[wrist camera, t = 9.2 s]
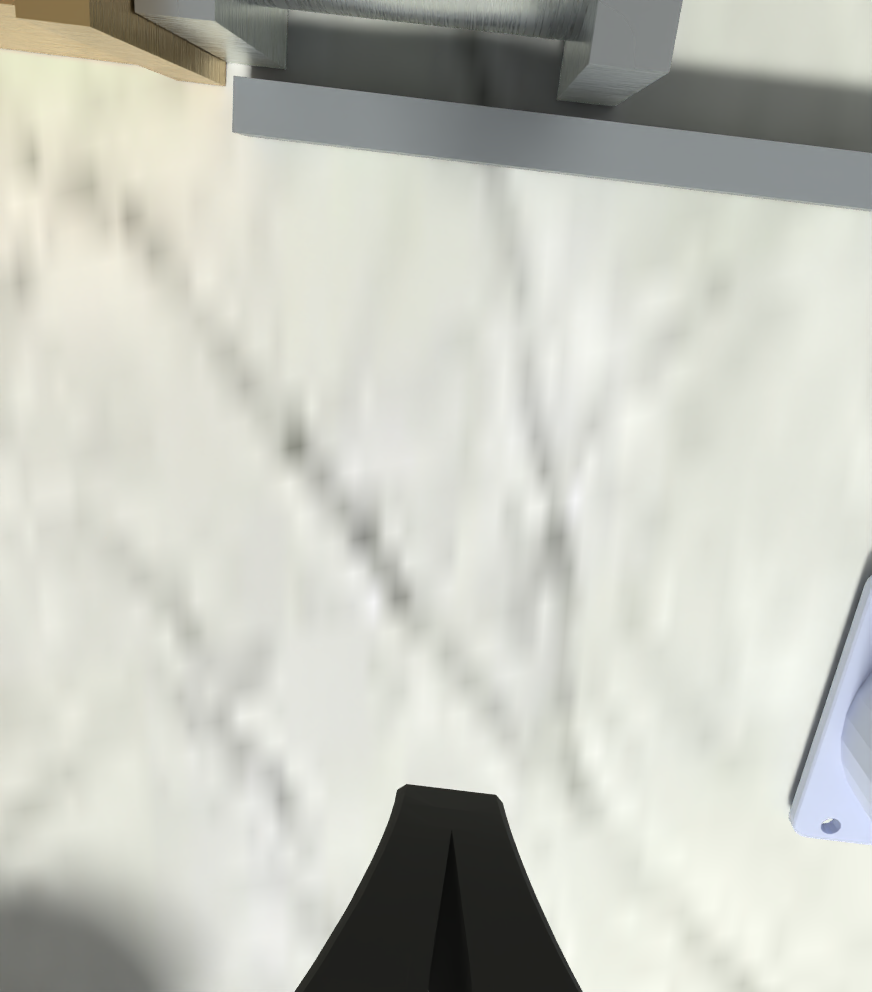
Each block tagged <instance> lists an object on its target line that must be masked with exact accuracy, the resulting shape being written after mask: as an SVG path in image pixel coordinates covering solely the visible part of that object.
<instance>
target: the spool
mask: <svg viewBox="0 0 872 992" xmlns="http://www.w3.org/2000/svg"><path fill="white" fill-rule="evenodd" d="M682 1H683V0H134V4H135V13H137V14H139V15H141V16H143V17H144V18H146V19H148V20H150V21H152V22H154V23H156V24H157V25H159V26H161V27H163V28H165V29H167V30H168V31H170V32H172V33H174V34H176V35H178V36H180V37H181V38H183V39H185V40H187V41H189V42H191V43H192V44H194V45H196V46H198V47H200V48H202V49H204V50H205V51H207V52H209V53H211V54H213V55H215V56H216V57H218V58H220V59H222V60H224V61H226V62H227V63H234V64H242V65H251V66H260V67H269V68H278V69H286V59H287V32H288V9H290V10H299V11H308V12H317V13H325V14H334V15H343V16H352V17H361V18H370V19H379V20H387V21H396V22H405V23H414V24H423V25H432V26H441V27H450V28H458V29H467V30H476V31H485V32H494V33H503V34H512V35H521V36H529V37H538V38H547V39H556V40H565V44H564V51H563V58H562V65H561V72H560V79H559V86H558V93H557V100H561V101H570V102H579V103H588V104H597V105H606V106H616V105H618V104H619V103H621V102H623V101H624V100H626V99H627V98H629V97H631V96H632V95H634V94H635V93H637V92H639V91H640V90H642V89H643V88H645V87H647V86H648V85H650V84H652V83H653V82H655V81H656V80H658V79H660V78H661V77H663V76H664V75H666V74H668V73H669V71H670V66H671V60H672V55H673V50H674V44H675V39H676V33H677V28H678V22H679V17H680V12H681V6H682Z"/></svg>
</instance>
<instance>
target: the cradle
mask: <svg viewBox="0 0 872 992" xmlns="http://www.w3.org/2000/svg"><path fill="white" fill-rule="evenodd" d="M232 132H234V133H238V134H242V135H245V136H251V137H259V138H267V139H276V140H284V141H292V142H300V143H309V144H317V145H325V146H334V147H342V148H350V149H358V150H367V151H375V152H383V153H392V154H400V155H408V156H416V157H425V158H433V159H441V160H450V161H458V162H466V163H474V164H483V165H491V166H499V167H508V168H516V169H524V170H532V171H541V172H549V173H557V174H566V175H574V176H582V177H590V178H599V179H607V180H615V181H624V182H632V183H640V184H648V185H657V186H665V187H673V188H682V189H690V190H698V191H706V192H715V193H723V194H731V195H740V196H748V197H756V198H764V199H773V200H781V201H789V202H798V203H806V204H814V205H822V206H831V207H839V208H847V209H856V210H864V211H872V153H869V152H860V151H852V150H844V149H835V148H827V147H819V146H811V145H802V144H794V143H786V142H777V141H769V140H761V139H753V138H744V137H736V136H728V135H720V134H711V133H703V132H695V131H686V130H678V129H670V128H662V127H653V126H645V125H637V124H628V123H620V122H612V121H604V120H595V119H587V118H579V117H570V116H562V115H554V114H546V113H537V112H529V111H521V110H512V109H504V108H496V107H488V106H479V105H471V104H463V103H454V102H446V101H438V100H430V99H421V98H413V97H405V96H396V95H388V94H380V93H372V92H363V91H355V90H347V89H338V88H330V87H322V86H314V85H305V84H297V83H289V82H280V81H272V80H264V79H256V78H247V77H239V76H234V81H233V123H232Z"/></svg>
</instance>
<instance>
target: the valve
mask: <svg viewBox="0 0 872 992" xmlns="http://www.w3.org/2000/svg"><path fill="white" fill-rule="evenodd" d="M0 48H2V49H10V50H19V51H27V52H35V53H44V54H52V55H60V56H68V57H77V58H85V59H93V60H102V61H110V62H118V63H126V64H135V65H139V66H142V67H144V68H147V69H149V70H152V71H154V72H157V73H160V74H162V75H165V76H167V77H170V78H173V79H175V80H178V81H187V82H195V83H203V84H211V85H220V86H225V80H226V61H224V60H222V59H220V58H218V57H216V56H215V55H213V54H211V53H209V52H207V51H205V50H204V49H202V48H200V47H198V46H196V45H194V44H192V43H191V42H189V41H187V40H185V39H183V38H181V37H180V36H178V35H176V34H174V33H172V32H170V31H168V30H167V29H165V28H163V27H161V26H159V25H157V24H156V23H154V22H152V21H150V20H148V19H146V18H144V17H143V16H141V15H139V14H137V13H135V4H134V0H0Z"/></svg>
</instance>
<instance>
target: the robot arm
mask: <svg viewBox="0 0 872 992" xmlns="http://www.w3.org/2000/svg"><path fill="white" fill-rule="evenodd" d="M827 819H833V820H832V821H830V822H828V823H823V822H824V821H825V820H827ZM789 820H790V822H791V824H792V826H793V828H794V830H795V832H796V833H798V834H799V835H801V836H804V837H808V838H817V839H825V840H833V841H841V842H850V843H858V844H866V845H872V575H871V576H870V577H869V578H868V580H867V582H866V583H865V585H864V588H863V591H862V595H861V598H860V601H859V604H858V607H857V610H856V613H855V616H854V619H853V622H852V625H851V628H850V631H849V634H848V637H847V640H846V643H845V646H844V649H843V652H842V655H841V658H840V661H839V664H838V667H837V670H836V673H835V676H834V679H833V682H832V685H831V688H830V691H829V694H828V697H827V700H826V703H825V706H824V709H823V712H822V715H821V718H820V722H819V725H818V728H817V731H816V734H815V737H814V740H813V743H812V746H811V749H810V752H809V755H808V758H807V761H806V764H805V767H804V770H803V773H802V776H801V779H800V782H799V785H798V788H797V791H796V794H795V797H794V800H793V803H792V806H791V809H790V812H789ZM822 823H823V824H822ZM295 992H582V990H581V988H580V986H579V984H578V982H577V980H576V978H575V977H574V975H573V973H572V971H571V969H570V967H569V965H568V963H567V961H566V959H565V957H564V955H563V953H562V951H561V949H560V947H559V945H558V943H557V941H556V939H555V937H554V935H553V932H552V930H551V928H550V926H549V924H548V921H547V919H546V917H545V915H544V913H543V911H542V908H541V906H540V904H539V902H538V900H537V897H536V895H535V893H534V890H533V888H532V886H531V883H530V881H529V878H528V876H527V873H526V871H525V868H524V866H523V863H522V861H521V858H520V855H519V853H518V850H517V847H516V844H515V842H514V839H513V836H512V833H511V830H510V827H509V824H508V820H507V817H506V814H505V810H504V806H503V803H502V802H501V800H500V799H499V798H498V797H497V795H492V794H484V793H476V792H467V791H459V790H451V789H442V788H434V787H426V786H417V785H409V784H406V785H404V786H403V787H401V788H400V789H398V790H397V793H396V798H395V803H394V806H393V809H392V813H391V816H390V819H389V821H388V824H387V827H386V829H385V832H384V834H383V837H382V839H381V841H380V843H379V846H378V848H377V850H376V852H375V855H374V857H373V859H372V861H371V863H370V865H369V867H368V869H367V871H366V873H365V875H364V877H363V879H362V881H361V882H360V884H359V886H358V888H357V890H356V892H355V894H354V896H353V898H352V900H351V902H350V904H349V905H348V907H347V909H346V911H345V912H344V914H343V916H342V917H341V919H340V921H339V922H338V924H337V926H336V927H335V929H334V931H333V932H332V934H331V936H330V937H329V939H328V940H327V942H326V944H325V945H324V947H323V949H322V950H321V952H320V954H319V955H318V957H317V959H316V960H315V962H314V963H313V965H312V966H311V968H310V969H309V971H308V972H307V974H306V975H305V977H304V978H303V980H302V981H301V983H300V984H299V986H298V987H297V989H296V990H295Z"/></svg>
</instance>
